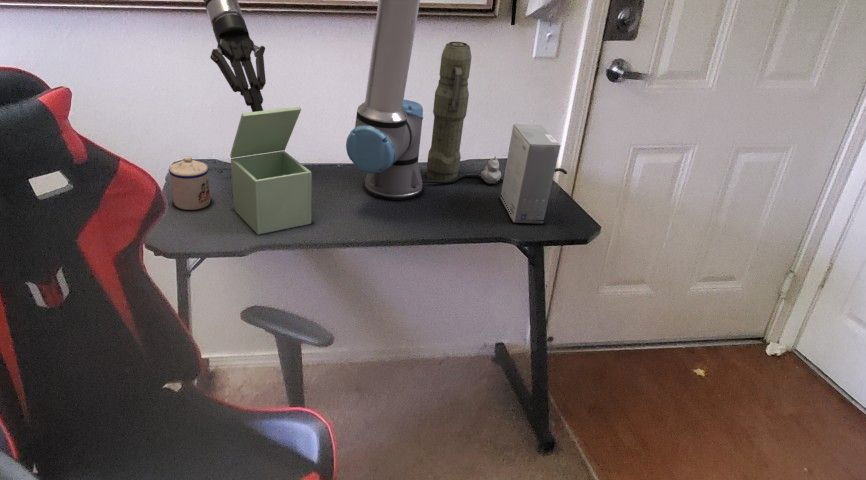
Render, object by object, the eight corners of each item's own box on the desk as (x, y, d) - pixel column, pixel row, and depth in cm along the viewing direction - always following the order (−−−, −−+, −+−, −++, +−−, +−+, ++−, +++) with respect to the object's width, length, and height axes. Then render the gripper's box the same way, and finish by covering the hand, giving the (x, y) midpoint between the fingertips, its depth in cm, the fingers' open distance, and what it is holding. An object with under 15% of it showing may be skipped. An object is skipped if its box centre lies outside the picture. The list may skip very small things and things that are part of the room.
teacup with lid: (207, 212, 159) (202, 165, 152) (168, 210, 158) (162, 163, 152) (217, 192, 168) (213, 147, 162) (181, 190, 168) (175, 145, 162)
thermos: (451, 168, 190) (468, 38, 171) (463, 184, 181) (482, 49, 161) (421, 169, 189) (434, 38, 169) (431, 185, 180) (447, 48, 160)
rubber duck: (484, 187, 180) (489, 159, 176) (476, 178, 186) (480, 150, 181) (503, 186, 181) (508, 158, 177) (494, 177, 187) (499, 149, 182)
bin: (311, 223, 156) (311, 172, 149) (257, 234, 150) (255, 181, 143) (285, 200, 167) (284, 150, 159) (233, 209, 160) (230, 158, 153)
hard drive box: (543, 224, 163) (561, 145, 152) (513, 224, 162) (528, 144, 151) (527, 198, 176) (542, 123, 164) (498, 198, 175) (512, 122, 164)
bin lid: (301, 109, 146) (300, 106, 146) (243, 116, 140) (241, 113, 140) (284, 150, 159) (283, 147, 159) (230, 158, 153) (229, 155, 153)
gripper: (250, 31, 158) (281, 122, 156) (197, 34, 152) (228, 128, 150) (258, 11, 151) (291, 105, 149) (203, 13, 145) (236, 112, 143)
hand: (259, 117), depth 150 cm, fingers closed
